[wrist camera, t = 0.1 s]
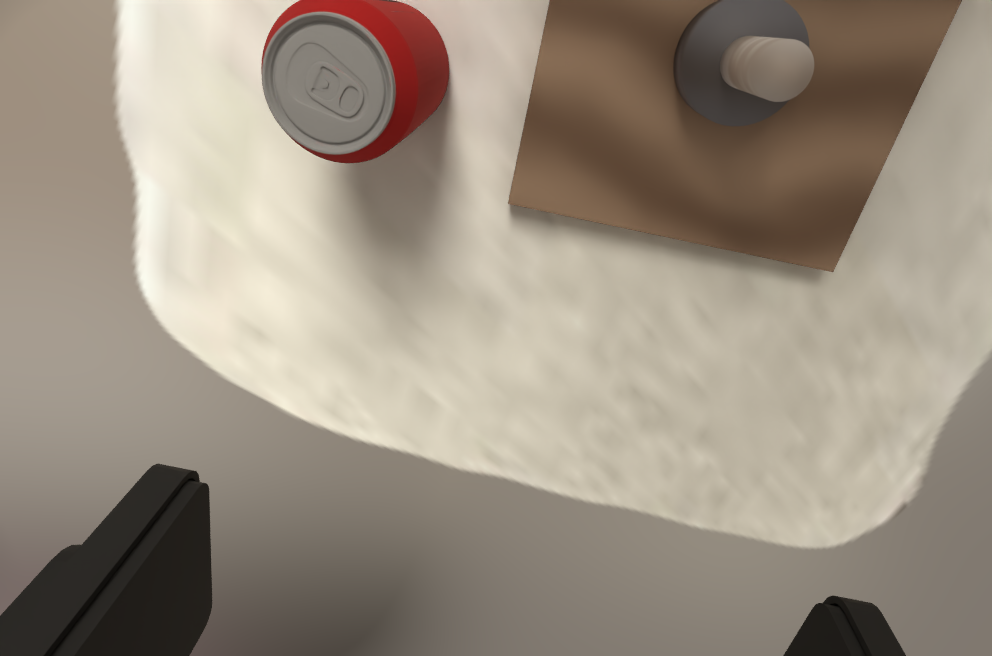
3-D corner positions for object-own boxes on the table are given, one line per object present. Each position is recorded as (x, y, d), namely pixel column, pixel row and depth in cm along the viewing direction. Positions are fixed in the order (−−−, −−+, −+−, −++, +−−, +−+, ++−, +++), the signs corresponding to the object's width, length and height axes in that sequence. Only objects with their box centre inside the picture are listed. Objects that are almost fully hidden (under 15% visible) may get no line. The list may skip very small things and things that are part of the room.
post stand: (593, -213, 29) (613, -307, 21) (1000, -121, 30) (1181, -177, 21) (509, 197, 38) (499, 247, 30) (823, 263, 39) (900, 331, 30)
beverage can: (366, -27, 34) (282, -49, 23) (473, 45, 35) (441, 56, 24) (316, 86, 36) (219, 114, 26) (417, 150, 37) (365, 202, 27)
